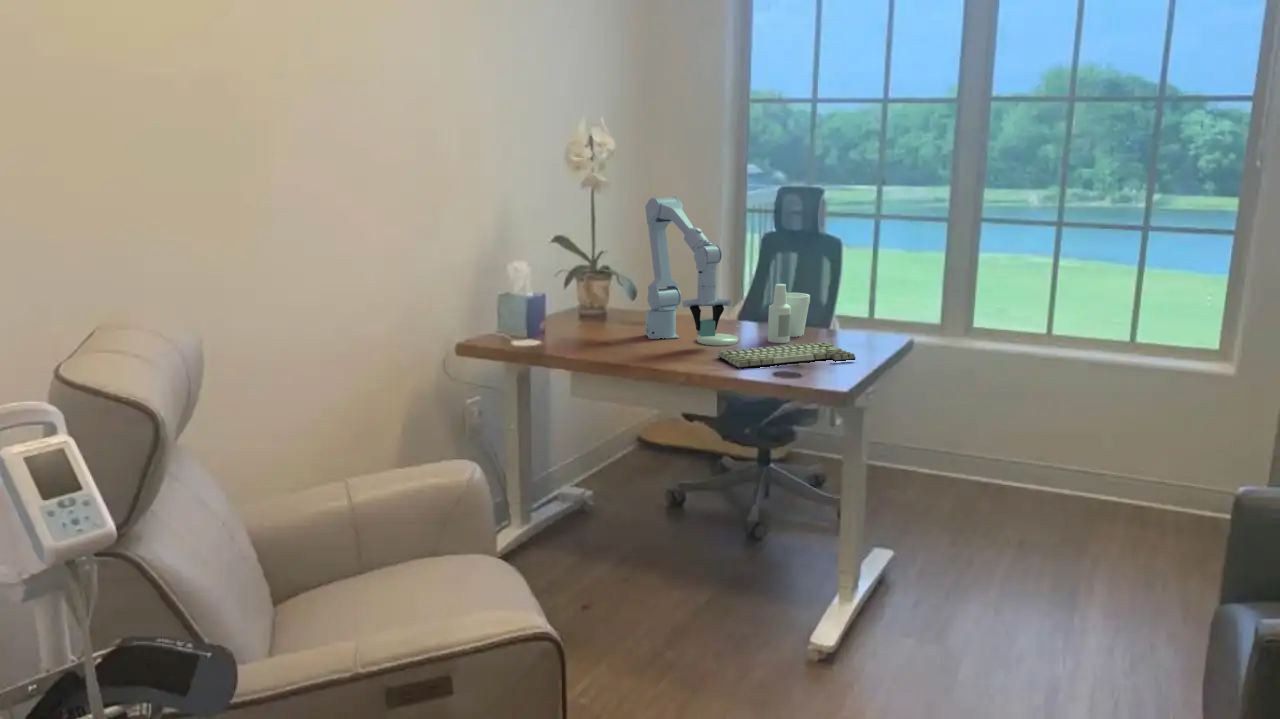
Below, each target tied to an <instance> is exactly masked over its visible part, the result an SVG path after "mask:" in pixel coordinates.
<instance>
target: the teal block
mask: <svg viewBox="0 0 1280 719" xmlns="http://www.w3.org/2000/svg"><path fill="white" fill-rule="evenodd" d="M715 324H716V321H714V320H713V318H700V331H697V330H696V332H697V333H696V334H697V336H699V335H700V336H715V333H716V330H715Z"/></svg>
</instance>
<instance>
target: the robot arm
mask: <svg viewBox="0 0 1280 719" xmlns="http://www.w3.org/2000/svg"><path fill="white" fill-rule="evenodd" d="M644 207H645V216H646V222H647V223H646V224H647V226H648V228H647V229H648V235H649V244H650V253H651V260H652V268H653V277H654V280H653V281H652V282H651V283H650V284H649V285H648V286H647V287H648V288H647V290H648V295H647V302H648V305H649V307H650V309H646V312H645V333H644V334H645V336H646V337H648V339H649V340H657V339H658V340H660V338H662V339H661V340H663V339H664V338H665V339H679V338H680V336H679V335H678V334H677V331H676V327H677V326H676V323H677V322H676V319H677V318H676V317H677V316H676V315H677V314H676V313H677V309H679V306H680V305H681V303H682V307H683V308H688V307H689V309H690V310H689V311H691V315H692V316H693V317H692V318H693V319H694V324H695V330H696V332H697V331H700V319H701V315H702V314H701V312H702V309H701V308H700V307H712V308H711V309H712V319H713V320H714V321H716V324H715V331H717V328H718V324H719V321H720V318H721V317H722V314H723V313H724V310H725V307H731V306H732V299H730V298H717V295H718V294H717V292H718V291H717V290H718V288H717V287H718V286H717V285H718V264H719V263H720V262H721V261H722V256H723V254H722V250H721V247H720V245H718V244H714V243H713V242H710V240H709V239H708V237H707V236H706V235H705V234H704V233H703V230H702V229H701V228H699V227H694V226H693V224H692V222H691V221H690V220H689V218H688V217H687V215H686V213H685V212H684V209H683V207H684V206H683V202H681V200H680V199H679V198H678V197H677V196H671V197H651V198H649V199H648V201H647V203H646V204H645V206H644ZM671 223H674V225H675V226H676V227H677V228H678V229H679V230H680V231H681V232H682V234H683V235H684V237H683V240H684V241H685V243H686V244H687V246H688V247H689V248H690V249H691V251H692V253H693V258H694V262H695V264H696V271H697V297H696V298H691V299H682V298H683V297H682V292H681V291H680V287H679V283H678V282H677V281H676V280H675V279H673V277H672V272H671V265H670V264H671V263H670V255H669V249H668V248H669V247H668V240H667V239H668V238H667V231H666V229H667V227H668V226H669V225H670V224H671ZM665 339H664V340H665Z"/></svg>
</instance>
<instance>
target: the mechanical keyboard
mask: <svg viewBox="0 0 1280 719" xmlns="http://www.w3.org/2000/svg"><path fill="white" fill-rule="evenodd" d="M717 356H718V358H716V359H717V360H719V361H720V362H722V363H724V364H725V365H728V366H731V367H734V368H736V367H738V368H737V369H739V368H741V370H744V368H760V367H770V366H775V365H777V366H779V365H787V364H799V363H810V362H815V361H826V360H833V361H835V362H836V361H846V360H857V359H856V355H855V353H853V352H851V351H847V350H846V349H842V348H840V347H838V346H836V345H835V346H834V344H832V343H829V342H827V341H823V342H815V343H813V342H811V343H808V344H807V343H801V344H798V343H797V344H793V345H792V344H789V345H788V344H786V345H784V344H783V345H779V346H777V345H775V346H764V347H761V346H760V347H756V348H755V347H752V348H749V349H748V348H742V349H737V348H736V349H734V350H733V349H727V350H719V351H718V355H717ZM733 365H734V366H733Z"/></svg>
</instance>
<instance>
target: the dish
mask: <svg viewBox="0 0 1280 719" xmlns="http://www.w3.org/2000/svg"><path fill="white" fill-rule="evenodd" d="M696 342H697V343H699V344H700V343H701V345H704V344H705V345H706V346H712V347H717V346H718V347H725V346H726V345H727V346H733V345H737V344H738V343H739V337H738V336H737V335H734V334H729V333H721V332H720V333H716V332H715V336H700V335H697V336H696ZM727 346H726V347H727Z"/></svg>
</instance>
